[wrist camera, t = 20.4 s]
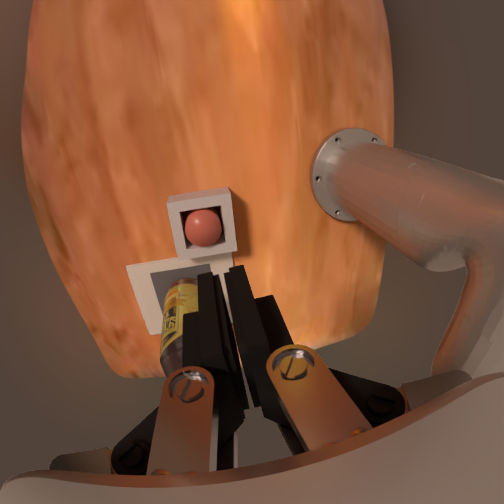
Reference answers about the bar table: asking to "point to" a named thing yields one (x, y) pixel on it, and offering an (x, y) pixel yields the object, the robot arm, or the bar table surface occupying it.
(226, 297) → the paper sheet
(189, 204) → the button housing
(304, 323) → the bar table surface
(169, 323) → the sauce bottle
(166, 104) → the bar table surface
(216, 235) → the button
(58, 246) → the bar table surface
